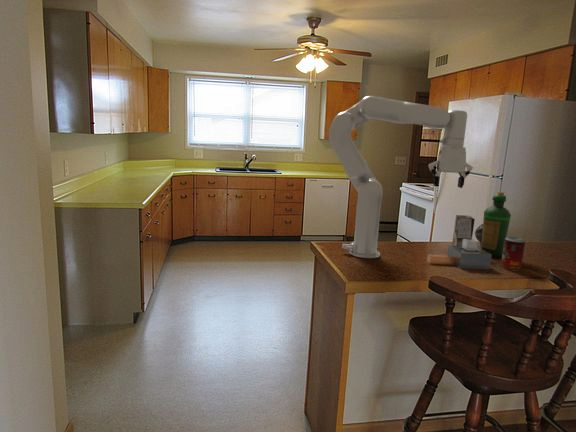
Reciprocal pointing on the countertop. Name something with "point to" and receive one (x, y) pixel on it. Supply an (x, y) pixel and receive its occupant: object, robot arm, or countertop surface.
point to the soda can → (513, 253)
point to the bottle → (495, 226)
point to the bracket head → (462, 258)
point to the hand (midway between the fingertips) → (448, 186)
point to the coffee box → (462, 229)
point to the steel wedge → (469, 245)
